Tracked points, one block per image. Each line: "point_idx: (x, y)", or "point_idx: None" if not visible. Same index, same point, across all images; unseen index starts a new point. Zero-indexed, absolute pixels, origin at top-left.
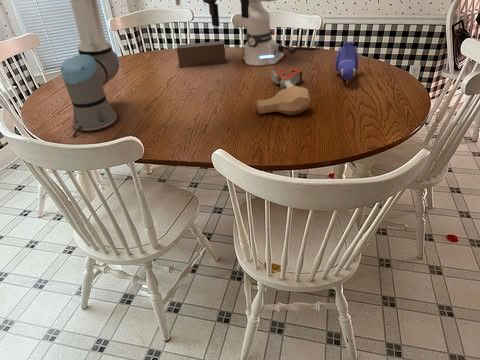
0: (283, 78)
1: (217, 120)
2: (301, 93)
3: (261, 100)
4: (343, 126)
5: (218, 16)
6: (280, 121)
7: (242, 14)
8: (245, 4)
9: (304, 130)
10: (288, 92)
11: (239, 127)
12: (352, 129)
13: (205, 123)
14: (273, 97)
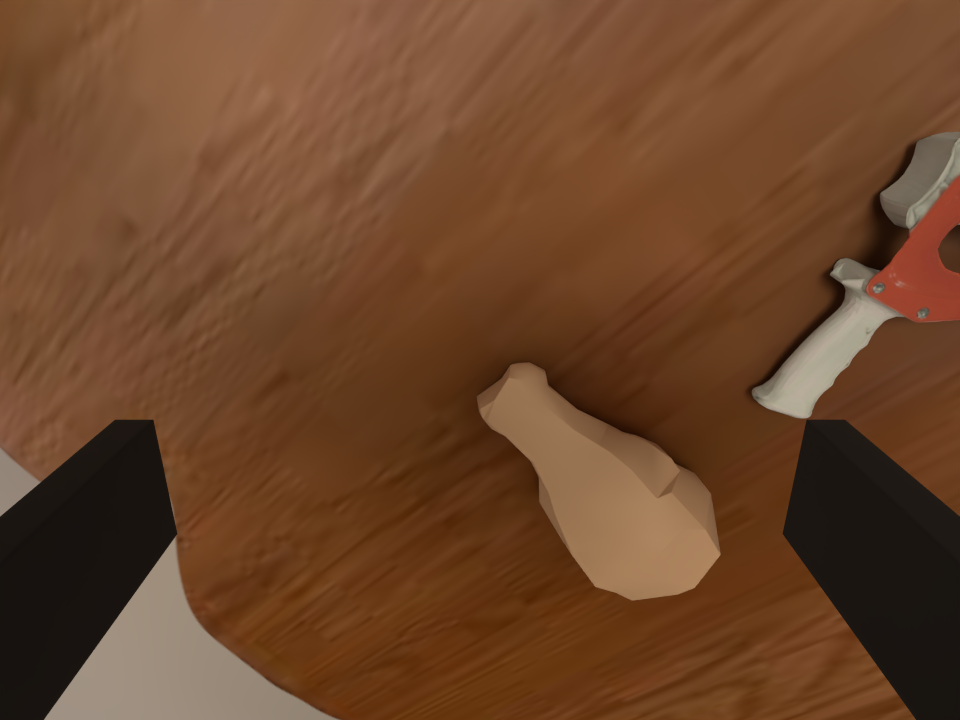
0: (880, 291)
1: (295, 271)
2: (634, 589)
3: (529, 397)
4: (617, 677)
5: (95, 640)
6: (498, 497)
7: (827, 466)
8: (918, 687)
9: (498, 603)
10: (611, 534)
11: (329, 405)
12: (615, 705)
13: (227, 247)
14: (574, 447)
